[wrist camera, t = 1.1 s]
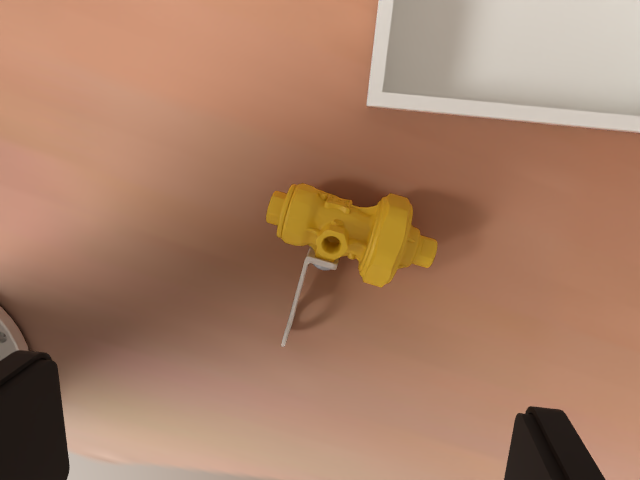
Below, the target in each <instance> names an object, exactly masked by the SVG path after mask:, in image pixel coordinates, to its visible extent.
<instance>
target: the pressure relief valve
mask: <svg viewBox="0 0 640 480" xmlns="http://www.w3.org/2000/svg"><path fill="white" fill-rule="evenodd" d="M352 202H353V201H352V200H348V199H342V198H339V197H338V196H336V195H333V194H329V193H327V192H324V191H322V190H319V189H316V188H314V187H313V186H310V185H307V184H304V183H301V184H298V185H295V184H292V185H291V187H290V188H289V190H288V193H287V194H286V193H283V192H279V191H275V192H274V193H273V195H272V197H271V200H270V202H269V206H268V209H267V214H266V221H267V223H271V224H274V225H277V226H278V227H277V237H279V238H282V240H283V241H284V243H288V244H291V245H294V246H304V245H306V244H307V245H309V246H310V248H309V251H308V254H307V256H306V258H305V261H304V265H303V269H302V272H301V276H300V280H299V283H298V287H297V291H296V294H295V298H294V302H293V305H292V309H291V312H290V316H289V319H288V323H287V326H286V329H285V333H284V336H283V340H282V344H281V346H282V347H285V345H286V342H287V339H288V336H289V332H290V329H291V326H292V322H293V319H294V315H295V312H296V308H297V304H298V300H299V297H300V293H301V290H302V286H303V282H304V279H305V275H306V272H307V268H308V265H309V263H312V264H313V265H314V266H315V267H317V268H318V269H321V270H330V269H333V270H336V269H337V266H338V262H339V258H340V257H342V256H348V258H349V259H355V258H356V259H357V260H358V261H359V266H358V269H359V274H360V276H361V277H362V279H363V282H365V283H368V284H371V285H375V286H378V287H383V286H384V285H385V284H388V283H389V282H391V280H392V279H393V277H394V275H395V273H396V271H397V269H400V268H404V267H409V266H410V265H411V264H415V265H418V266H422V267H425V268H428V267H430V266H431V264H432V263H433V260H434V258H435V255H436V251H437V241H436V240H435V239H432V238H429V237H425V236H422V235H420V231H419V229H418V228H415V227H413V226H412V225H411V223H412V216H413V207H412V205H411V204H410V202H409V200H408V198H406V197H402V196H399V195H395V194H392V193H390V194H389V195H387V196H386V197H383V198H382V199H381V200H380V201H379V202H378V203H377V205H376V206H372V207H358V206H354V205H352Z"/></svg>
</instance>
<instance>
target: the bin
mask: <svg viewBox="0 0 640 480" xmlns="http://www.w3.org/2000/svg"><path fill="white" fill-rule="evenodd" d="M367 107H374V108H384V109H394V110H405V111H415V112H425V113H436V114H446V115H456V116H466V117H477V118H487V119H497V120H508V121H518V122H528V123H539V124H549V125H559V126H570V127H580V128H590V129H601V130H611V131H621V132H631V133H640V0H379V2H378V11H377V19H376V28H375V36H374V45H373V54H372V62H371V71H370V79H369V88H368V96H367Z"/></svg>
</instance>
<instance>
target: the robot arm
mask: <svg viewBox="0 0 640 480" xmlns="http://www.w3.org/2000/svg"><path fill="white" fill-rule="evenodd" d="M68 474H69V458H68V450H67V441H66V433H65V425H64V417H63V408H62V400H61V392H60V384H59V375H58V368H57V364H56V363H55V362H54V361H52V359H51V357H50V356H49V354H47V353H43V352H34V351H29V350H28V346H27V344H26V342H25V340H24V338H23V335H22V333H21V331H20V330H19V328H18V327H17V325H16V324H15V323H14V321H13V320H12V318H11V317H10V316H9V315H8V314H7V313H6V312H5V311H4V310H3V308H2V307H1V306H0V480H67V477H68ZM504 480H605V478H604V477H603V475H602V473H601V472H600V470H599V468H598V467H597V465H596V463H595V462H594V460H593V458H592V457H591V455H590V453H589V452H588V450H587V449H586V447H585V445H584V444H583V442H582V440H581V439H580V437H579V435H578V434H577V432H576V430H575V429H574V427H573V425H572V424H571V422H570V421H569V419H568V417H567V416H566V414H565V413H564V412H563V411H562V410H559V409H550V408H541V407H531V406H530V407H528V409H527V410H526V413H525V414H522V413H518V414H517V416H516V418H515V423H514V428H513V434H512V439H511V445H510V450H509V456H508V461H507V467H506V472H505V478H504Z"/></svg>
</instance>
